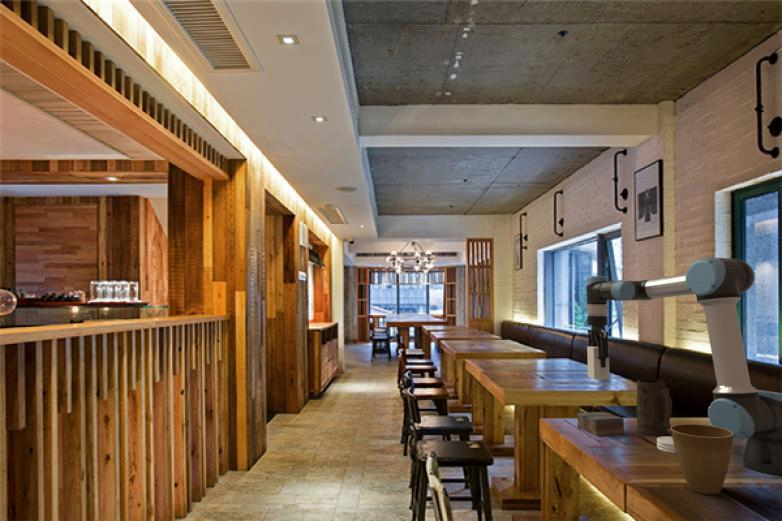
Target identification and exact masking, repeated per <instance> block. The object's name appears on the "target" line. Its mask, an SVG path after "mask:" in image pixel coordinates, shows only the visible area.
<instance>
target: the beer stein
mask: <svg viewBox="0 0 782 521" xmlns="http://www.w3.org/2000/svg"><path fill="white" fill-rule="evenodd" d="M636 386H637V387H636V390H637V391H636V393H637V394H636V423H637V426H636V431H637V432H639V433H640V432H641V434H643V433H644V434H643V435H648V434H650V436H665V434H666V435H667V434H668V433H669V431H668V430H671V429H670V427H671V426H672V425H671V424H670V423H671V422H670V420H671V417H672V411H673V401H672V397H671V393H670V390H671V389H669V388H667V387H666V383H665V381H663V380H660V379H655V378H640V379H637V381H636Z"/></svg>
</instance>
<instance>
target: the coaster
mask: <svg viewBox="0 0 782 521" xmlns="http://www.w3.org/2000/svg"><path fill="white" fill-rule="evenodd" d="M656 448H657V449H658V450H659V451H661V452H664V453H668V452H669V453H668V454H675V453H676V451H675V447H674V443H673V438H672V436H665V435H662V436H659V437H657V438H656Z"/></svg>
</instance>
